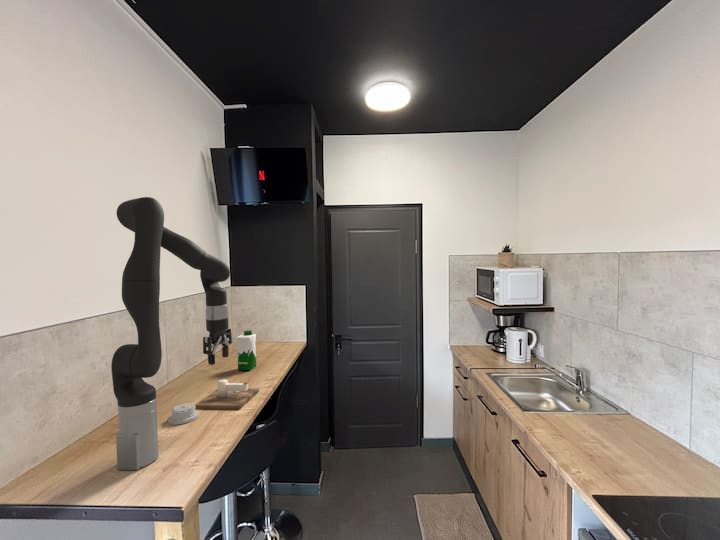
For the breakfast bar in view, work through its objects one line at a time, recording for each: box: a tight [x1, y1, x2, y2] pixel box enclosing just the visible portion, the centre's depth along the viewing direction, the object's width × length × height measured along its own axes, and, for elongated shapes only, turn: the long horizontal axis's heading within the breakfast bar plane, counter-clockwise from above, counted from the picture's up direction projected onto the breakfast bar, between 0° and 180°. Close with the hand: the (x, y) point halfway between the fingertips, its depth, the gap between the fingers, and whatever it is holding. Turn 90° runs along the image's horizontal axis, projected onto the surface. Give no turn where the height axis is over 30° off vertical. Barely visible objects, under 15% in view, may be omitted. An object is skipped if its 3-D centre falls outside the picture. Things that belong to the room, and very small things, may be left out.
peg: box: [216, 378, 249, 397], centre depth 140 cm, size 4×13×6 cm, turn 84°
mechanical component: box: [167, 402, 200, 426], centre depth 124 cm, size 10×4×10 cm
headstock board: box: [195, 387, 260, 410], centre depth 141 cm, size 18×18×2 cm
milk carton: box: [235, 329, 257, 371], centre depth 182 cm, size 9×9×20 cm
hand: (218, 360), depth 126 cm, fingers open, 8 cm apart
